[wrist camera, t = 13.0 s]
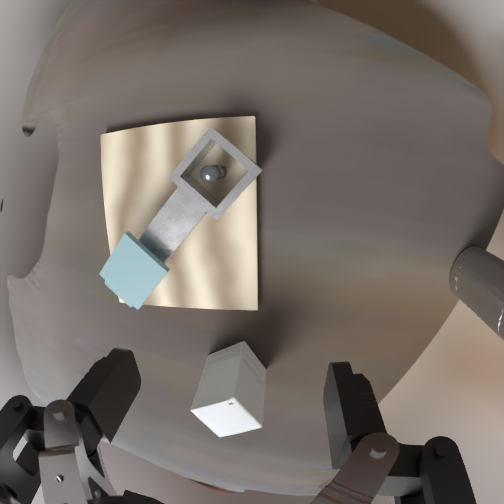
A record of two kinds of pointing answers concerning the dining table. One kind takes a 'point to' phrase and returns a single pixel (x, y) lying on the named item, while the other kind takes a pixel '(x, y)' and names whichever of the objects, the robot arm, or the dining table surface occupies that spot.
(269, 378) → the dining table surface
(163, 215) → the link
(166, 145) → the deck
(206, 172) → the cylinder
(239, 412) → the supplement box
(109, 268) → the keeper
